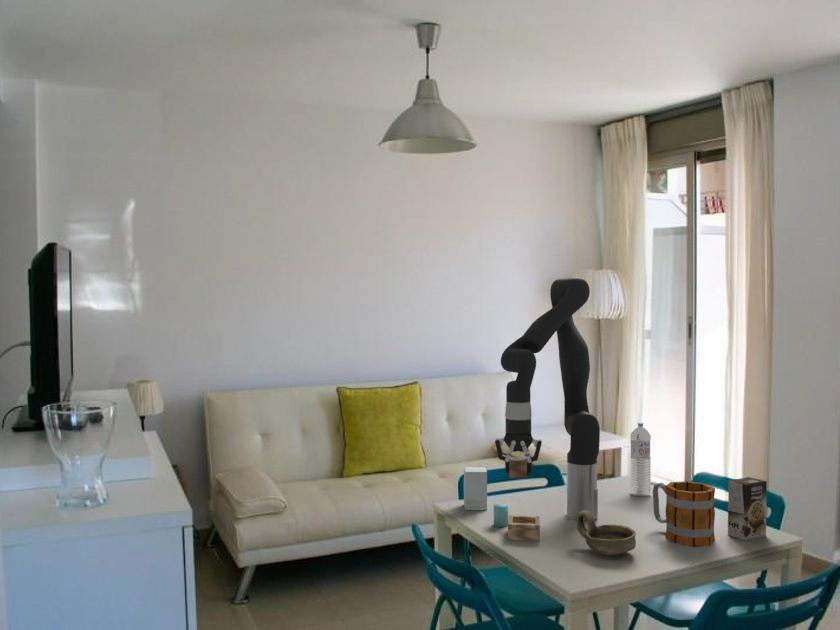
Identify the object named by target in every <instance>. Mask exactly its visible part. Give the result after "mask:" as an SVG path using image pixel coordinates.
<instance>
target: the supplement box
mask: <svg viewBox="0 0 840 630" xmlns="http://www.w3.org/2000/svg"><path fill="white" fill-rule="evenodd" d="M463 505H464V506H463V507H464V510H465V511H487V510H488V471H487V469H486V467H485V466H483V467H482V466H478V467H477V466H472V467H470V466H467V467H466V466H465V467H464V468H463Z"/></svg>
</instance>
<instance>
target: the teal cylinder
mask: <svg viewBox="0 0 840 630" xmlns="http://www.w3.org/2000/svg"><path fill="white" fill-rule="evenodd" d="M508 518H509V504H507V503H494V504H493V526H494V527H497V528H508Z"/></svg>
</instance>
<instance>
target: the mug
mask: <svg viewBox="0 0 840 630" xmlns="http://www.w3.org/2000/svg"><path fill="white" fill-rule="evenodd" d="M659 488H661V489H662V491H663V492H664V493H665V495H666V496H665V497H666V501H665V502H666V503H665V518H662V517H661V514H660V499H659ZM715 492H716V487H713V486H711V485H709V484H707V483H703V482H694V481H689V480H688V481H687V480H684V481H683V480H682V481H670V482H668V483H667V484H664V482H659V483H655V484H654V485H653V488H652V500H653V501H652V503H653V504H652V505H653V506H652V507H653V516H654V518H655V520H656V521H657V522H658V523H660V524H666V526H665V527H666V531H665V535H664V536H665V537H664V538H665V539H667V540H668V541H670V542H671V543H673V544H675V545H681V546H687V547H690V548H691V547H692V548H698V547H710V546H712V545H713V544H714V543H715V541H716V537H715V518H716V511H715Z"/></svg>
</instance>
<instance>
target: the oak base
mask: <svg viewBox="0 0 840 630" xmlns="http://www.w3.org/2000/svg"><path fill="white" fill-rule="evenodd" d="M540 523H541V522H540V516H537V515H536V516H535V515H515V514H514V515H513V514H511V515H510V514H508V526H507V540H508V541H528V542H529V541H530V542H531V541H532V542H533V541H534V542H535V541H536V542H540V541H541V525H540Z"/></svg>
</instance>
